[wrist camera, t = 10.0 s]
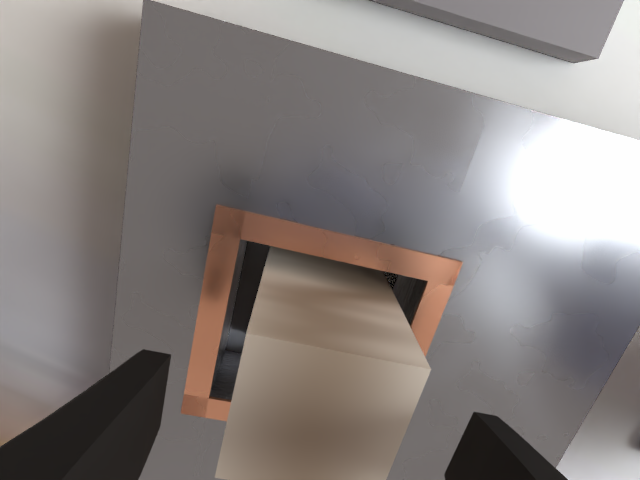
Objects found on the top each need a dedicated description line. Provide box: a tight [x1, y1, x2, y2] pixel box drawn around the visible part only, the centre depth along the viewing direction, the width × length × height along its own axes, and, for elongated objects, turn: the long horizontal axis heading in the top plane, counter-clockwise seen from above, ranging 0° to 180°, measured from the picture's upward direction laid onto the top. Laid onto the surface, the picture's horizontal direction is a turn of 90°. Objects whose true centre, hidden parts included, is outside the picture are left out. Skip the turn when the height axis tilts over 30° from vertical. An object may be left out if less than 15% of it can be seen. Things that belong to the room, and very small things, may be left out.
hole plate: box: [109, 0, 640, 480], centre depth 13 cm, size 16×16×3 cm
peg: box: [215, 246, 431, 480], centre depth 11 cm, size 4×4×6 cm
